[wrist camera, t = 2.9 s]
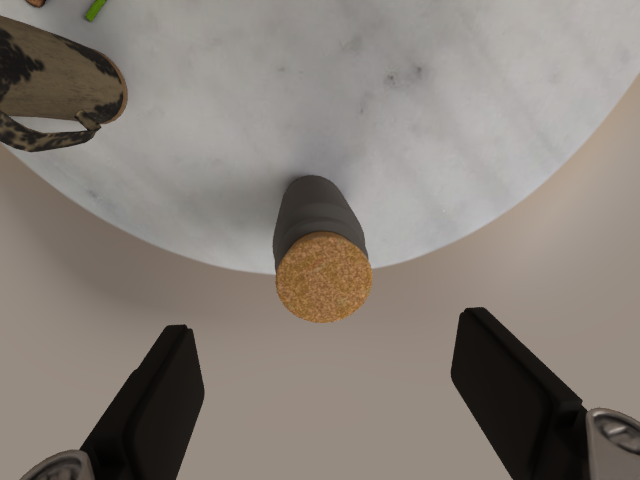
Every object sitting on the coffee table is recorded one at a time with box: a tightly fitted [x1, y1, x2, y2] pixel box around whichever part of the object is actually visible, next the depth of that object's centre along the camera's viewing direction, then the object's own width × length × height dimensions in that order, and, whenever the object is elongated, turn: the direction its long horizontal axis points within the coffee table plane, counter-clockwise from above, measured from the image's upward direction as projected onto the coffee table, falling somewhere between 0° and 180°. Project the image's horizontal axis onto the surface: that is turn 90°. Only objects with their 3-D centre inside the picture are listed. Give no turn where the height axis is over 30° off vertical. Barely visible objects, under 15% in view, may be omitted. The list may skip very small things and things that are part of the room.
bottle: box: [273, 176, 372, 323], centre depth 22 cm, size 6×6×15 cm
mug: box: [0, 16, 127, 152], centre depth 19 cm, size 8×6×12 cm
